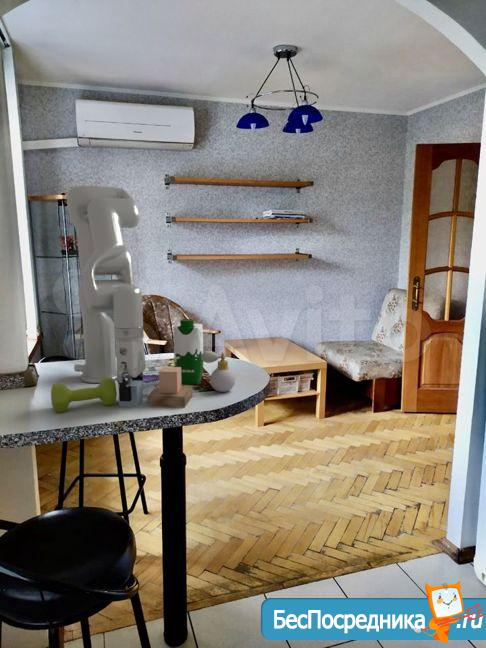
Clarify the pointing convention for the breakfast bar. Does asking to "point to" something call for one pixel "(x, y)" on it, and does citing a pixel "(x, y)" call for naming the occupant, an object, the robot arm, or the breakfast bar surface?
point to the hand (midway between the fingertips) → (131, 395)
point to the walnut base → (170, 397)
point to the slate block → (134, 395)
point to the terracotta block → (170, 380)
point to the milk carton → (188, 350)
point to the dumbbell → (83, 394)
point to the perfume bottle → (219, 372)
